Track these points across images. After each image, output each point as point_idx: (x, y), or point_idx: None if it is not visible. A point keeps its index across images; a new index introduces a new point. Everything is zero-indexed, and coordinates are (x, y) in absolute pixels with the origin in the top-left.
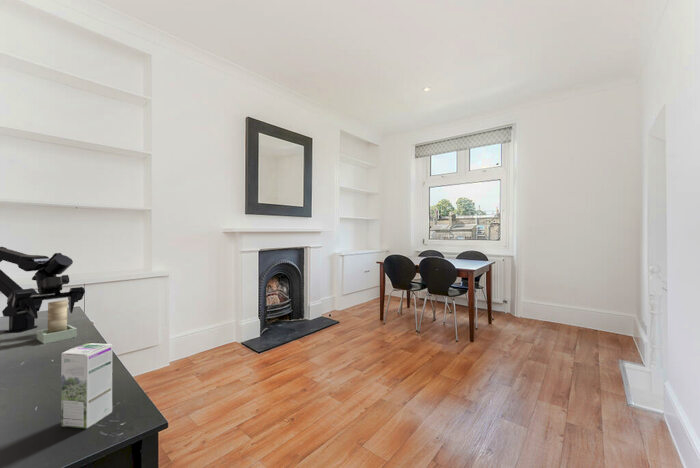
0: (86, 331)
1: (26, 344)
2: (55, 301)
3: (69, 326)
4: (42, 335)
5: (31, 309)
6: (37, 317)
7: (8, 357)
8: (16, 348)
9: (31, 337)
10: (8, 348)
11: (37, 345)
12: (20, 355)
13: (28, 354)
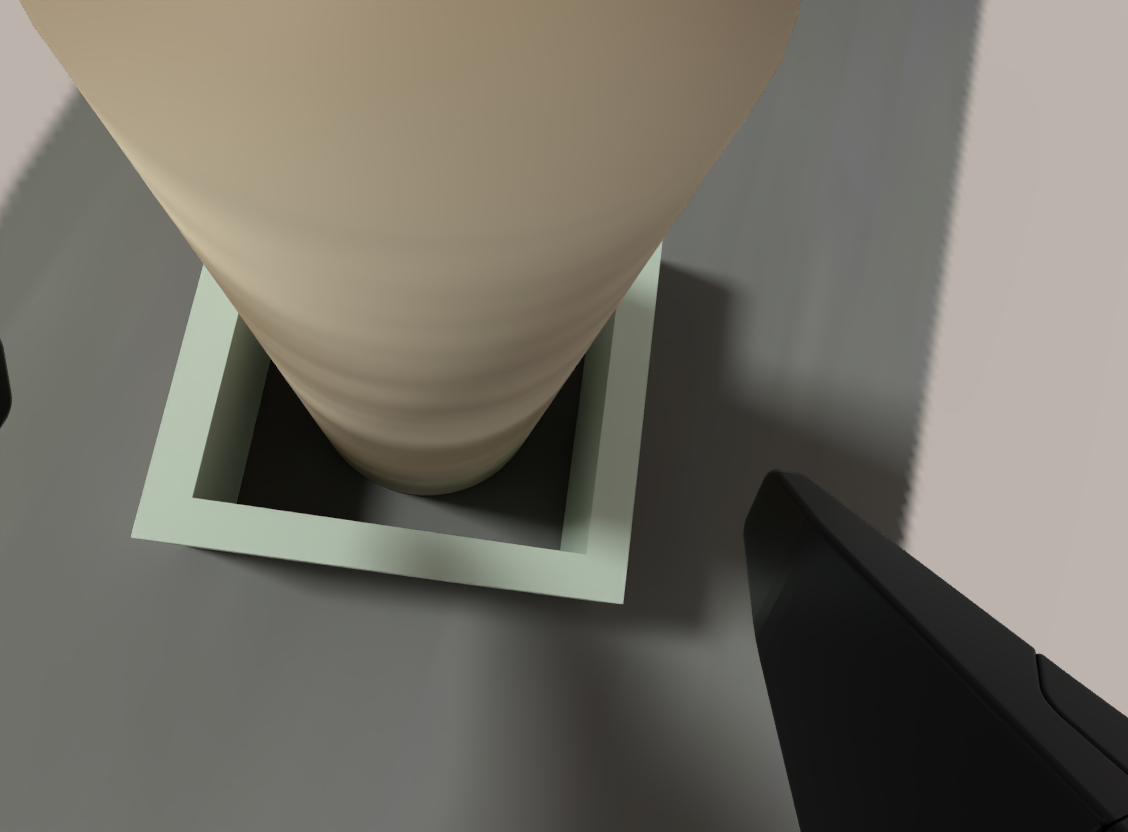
0: (20, 356)
1: (741, 437)
2: (409, 157)
3: (213, 384)
4: (654, 269)
5: (1024, 649)
6: (762, 484)
7: (951, 90)
8: (846, 357)
9: (592, 818)
10: (895, 449)
11: (688, 256)
12: (878, 48)
13: (831, 8)
